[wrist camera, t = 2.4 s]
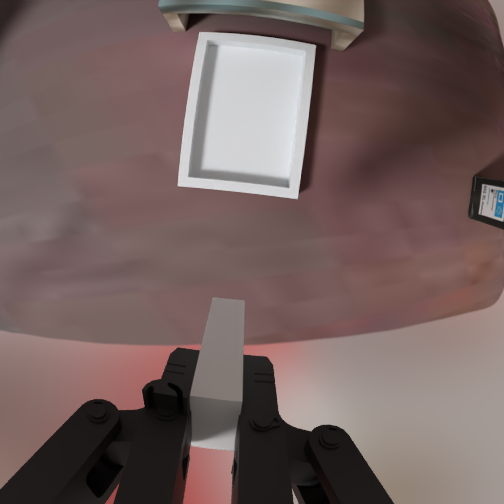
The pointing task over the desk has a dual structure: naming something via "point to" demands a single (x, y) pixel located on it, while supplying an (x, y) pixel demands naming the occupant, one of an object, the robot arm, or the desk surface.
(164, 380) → the robot arm
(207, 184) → the white tray
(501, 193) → the ink cartridge
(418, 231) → the desk surface
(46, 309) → the desk surface
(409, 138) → the desk surface
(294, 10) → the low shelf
